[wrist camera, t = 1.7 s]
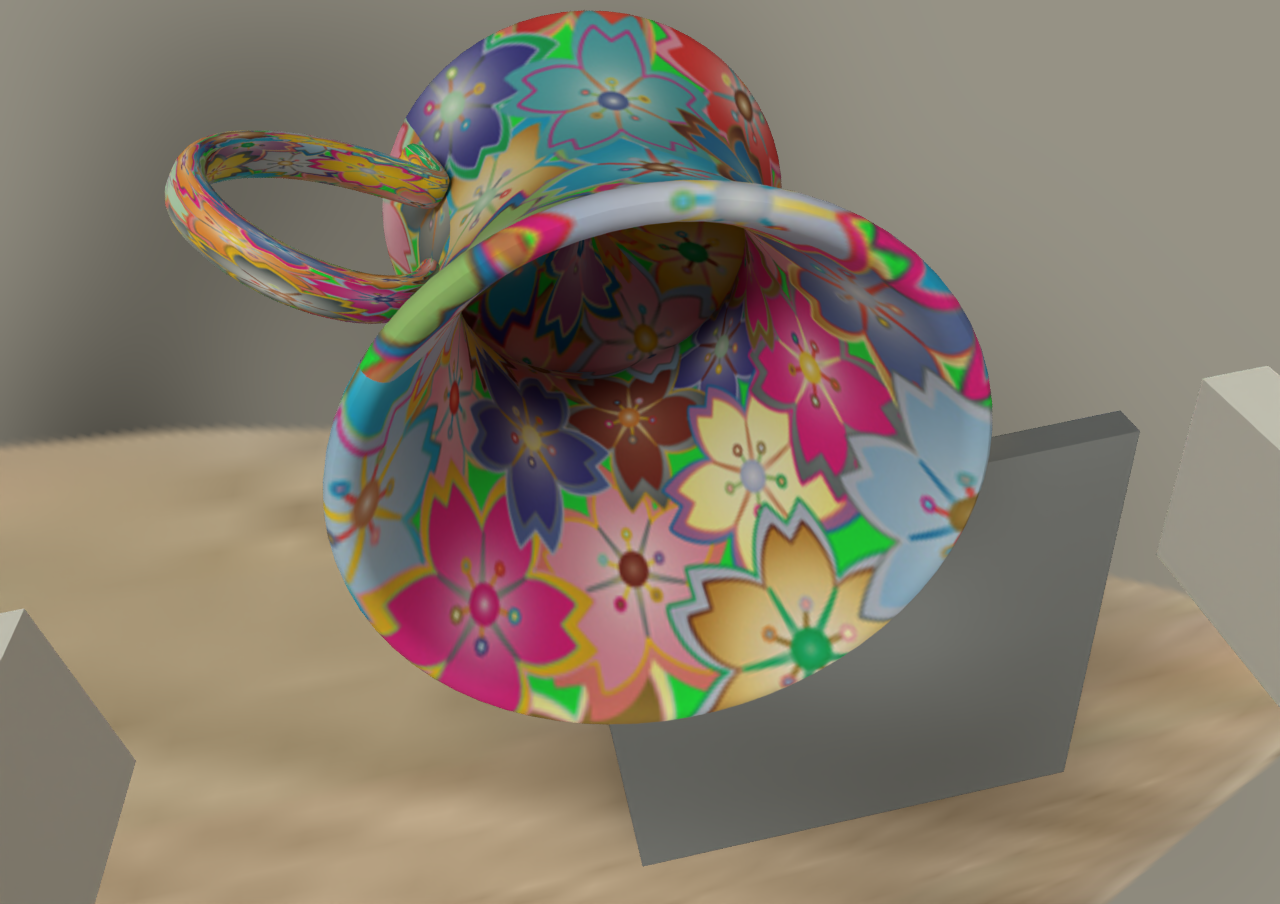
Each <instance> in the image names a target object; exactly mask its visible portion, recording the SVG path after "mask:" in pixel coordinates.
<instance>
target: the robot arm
mask: <svg viewBox="0 0 1280 904" xmlns="http://www.w3.org/2000/svg"><path fill="white" fill-rule="evenodd" d="M1156 555H1157V556H1158V557H1159V559H1160V560H1161V561H1162V563H1163V564H1164V565H1165V566H1166V567H1167V569H1168V570H1169V571H1170V572H1171V574H1172V575H1173V576H1174V577H1175V579H1176V580H1177V581H1178V582H1179V584H1180V585H1181V586H1182V587H1183V589H1184V590H1185V591H1186V592H1187V593H1188V595H1189V596H1190V597H1191V598H1192V600H1193V601H1194V602H1195V603H1196V605H1197V606H1198V607H1199V608H1200V610H1201V611H1202V612H1203V613H1204V615H1205V616H1206V617H1207V618H1208V619H1209V621H1210V622H1211V623H1212V624H1213V626H1214V627H1215V628H1216V629H1217V631H1218V632H1219V633H1220V634H1221V636H1222V637H1223V638H1224V639H1225V641H1226V642H1227V643H1228V644H1229V645H1230V647H1231V648H1232V649H1233V650H1234V652H1235V653H1236V654H1237V655H1238V657H1239V658H1240V659H1241V660H1242V662H1243V663H1244V664H1245V665H1246V667H1247V668H1248V669H1249V670H1250V671H1251V673H1252V674H1253V675H1254V676H1255V678H1256V679H1257V680H1258V681H1259V683H1260V684H1261V685H1262V686H1263V688H1264V689H1265V690H1266V691H1267V693H1268V694H1269V695H1270V696H1271V697H1272V699H1273V700H1274V701H1275V702H1276V704H1277V705H1278V706H1279V707H1280V376H1279V375H1278V374H1277V373H1276V372H1275V371H1273V370H1272V369H1271V368H1270V367H1268V366H1265V367H1260V368H1255V369H1249V370H1244V371H1239V372H1234V373H1229V374H1224V375H1218V376H1214V377H1208V378H1203V379H1202V383H1201V386H1200V390H1199V394H1198V398H1197V401H1196V405H1195V409H1194V413H1193V417H1192V420H1191V424H1190V428H1189V432H1188V436H1187V439H1186V443H1185V447H1184V451H1183V455H1182V458H1181V462H1180V466H1179V470H1178V474H1177V477H1176V481H1175V485H1174V489H1173V493H1172V496H1171V500H1170V504H1169V508H1168V511H1167V515H1166V519H1165V523H1164V527H1163V530H1162V534H1161V538H1160V542H1159V546H1158V550H1157V553H1156ZM135 762H136V760H135V759H134V758H133V756H132V755H131V754H130V752H129V751H128V749H127V748H126V747H125V745H124V744H123V743H122V741H121V740H120V739H119V737H118V736H117V734H116V733H115V732H114V730H113V729H112V728H111V726H110V725H109V724H108V722H107V721H106V719H105V718H104V717H103V715H102V714H101V713H100V711H99V710H98V709H97V707H96V706H95V704H94V703H93V702H92V700H91V699H90V698H89V696H88V695H87V694H86V692H85V691H84V689H83V688H82V687H81V685H80V684H79V683H78V681H77V680H76V679H75V677H74V676H73V674H72V673H71V672H70V670H69V669H68V668H67V666H66V665H65V664H64V662H63V661H62V659H61V658H60V657H59V655H58V654H57V653H56V651H55V650H54V649H53V647H52V646H51V644H50V643H49V642H48V640H47V639H46V638H45V636H44V635H43V634H42V632H41V631H40V629H39V628H38V627H37V625H36V624H35V623H34V621H33V620H32V619H31V617H30V616H29V614H28V613H27V612H26V610H25V609H20V610H15V611H10V612H5V613H0V904H95V900H96V897H97V893H98V890H99V887H100V883H101V880H102V876H103V873H104V869H105V866H106V862H107V859H108V855H109V852H110V849H111V845H112V842H113V838H114V835H115V831H116V828H117V824H118V821H119V817H120V814H121V811H122V807H123V804H124V800H125V797H126V793H127V790H128V786H129V783H130V779H131V776H132V773H133V769H134V766H135Z"/></svg>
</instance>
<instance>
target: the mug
mask: <svg viewBox="0 0 1280 904" xmlns="http://www.w3.org/2000/svg"><path fill="white" fill-rule="evenodd" d="M263 177H264V178H266V177H267V178H288V179H298V180H306V181H312V182H319V183H324V184H329V185H334V186H339V187H344V188H348V189H352V190H356V191H360V192H364V193H367V194H371V195H374V196H378V197H381V198H383V223H384V234H385V238H386V244H387V249H388V253H389V256H390V259H391V262H392V266H393V269H394V271H395V273H396V275H395V276H394V275H375V274H368V273H362V272H358V271H354V270H350V269H346V268H343V267H340V266H336V265H333V264H330V263H327V262H325V261H322V260H320V259H317V258H315V257H312V256H310V255H308V254H305V253H303V252H301V251H298V250H297V249H295V248H293V247H291V246H289V245H287V244H285V243H283V242H281V241H279V240H277V239H276V238H274V237H273V236H271V235H269V234H267V233H266V232H264V231H263V230H261V229H259V228H258V227H256V226H255V225H253V224H252V223H251V222H249V221H248V220H247V219H245V218H244V217H242V216H241V215H240V214H239V213H237V212H236V211H235V210H234V209H233V208H231V207H230V206H229V205H228V204H227V203H226V202H225V201H224V200H223V199H222V198H221V197H220V196H219V195H218V194H217V193H216V192H215V190H214V189H213V188H212V186H211V185H210V184H213V183H217V182H221V181H226V180H232V179H241V178H263ZM165 205H166V208H167V210H168V213H169V216H170V218H171V221H172V222H173V224H174V225H175V227H176V228H177V230H178V231H179V232H180V234H181V235H182V236H183V237H184V238H185V239H186V240H187V241H188V242H189V243H190V245H191V246H193V247H194V248H195V249H196V250H197V251H198V252H199V253H200V254H201V255H203V256H204V257H205V258H206V259H207V260H209V261H210V262H211V263H213V264H214V265H215V266H216V267H218V268H219V269H220V270H222V271H223V272H225V273H226V274H228V275H229V276H231V277H233V278H234V279H236V280H237V281H239V282H240V283H242V284H244V285H246V286H248V287H250V288H251V289H253V290H255V291H257V292H258V293H261V294H263V295H265V296H267V297H269V298H271V299H273V300H275V301H277V302H280V303H283V304H285V305H287V306H290V307H293V308H295V309H298V310H301V311H304V312H308V313H310V314H314V315H318V316H321V317H326V318H330V319H335V320H340V321H345V322H353V323H365V324H367V323H368V324H377V323H387V322H388V323H387V324H386V325H385V326H384V328H383V329H382V330H381V331H380V332H379V334H378V335H377V337H376V338H375V340H374V341H373V343H372V344H371V345H370V347H369V348H368V350H367V351H366V353H365V354H364V356H363V357H362V359H361V360H360V362H359V364H358V366H357V368H356V370H355V372H354V373H353V375H352V377H351V379H350V381H349V383H348V385H347V387H346V389H345V391H344V394H343V396H342V399H341V402H340V404H339V407H338V410H337V412H336V415H335V417H334V421H333V425H332V429H331V433H330V437H329V441H328V445H327V451H326V460H325V469H324V478H323V501H324V515H325V521H326V527H327V534H328V538H329V542H330V545H331V548H332V552H333V555H334V559H335V562H336V564H337V566H338V568H339V571H340V573H341V575H342V578H343V580H344V582H345V584H346V586H347V588H348V590H349V592H350V593H351V595H352V597H353V598H354V600H355V602H356V603H357V605H358V607H359V609H360V610H361V611H362V613H363V614H364V615H365V617H366V618H367V619H368V621H369V622H370V623H371V624H372V626H373V627H374V628H375V630H376V631H377V632H378V633H379V634H380V635H381V636H382V637H383V638H384V639H385V640H386V641H387V642H388V643H389V644H390V645H391V646H392V647H393V648H394V649H395V650H396V651H398V652H399V653H400V654H401V655H402V656H404V657H405V658H406V659H407V660H408V661H410V662H411V663H412V664H413V665H415V666H416V667H418V668H419V669H421V670H422V671H424V672H425V673H427V674H428V675H430V676H431V677H433V678H434V679H436V680H438V681H440V682H441V683H443V684H445V685H447V686H449V687H451V688H452V689H454V690H456V691H458V692H461V693H463V694H465V695H467V696H470V697H472V698H474V699H477V700H479V701H482V702H485V703H488V704H490V705H493V706H496V707H499V708H502V709H505V710H509V711H513V712H517V713H521V714H525V715H529V716H534V717H539V718H545V719H551V720H556V721H565V722H574V723H584V724H639V723H650V722H661V721H668V720H675V719H681V718H688V717H693V716H697V715H702V714H706V713H711V712H715V711H719V710H722V709H726V708H729V707H733V706H737V705H740V704H743V703H746V702H749V701H752V700H755V699H757V698H760V697H763V696H766V695H768V694H771V693H773V692H775V691H778V690H780V689H783V688H785V687H787V686H790V685H792V684H794V683H796V682H798V681H800V680H802V679H804V678H806V677H808V676H810V675H812V674H814V673H816V672H818V671H819V670H821V669H823V668H825V667H826V666H828V665H830V664H831V663H833V662H835V661H837V660H838V659H840V658H841V657H843V656H844V655H846V654H847V653H849V652H850V651H852V650H853V649H855V648H856V647H858V646H859V645H861V644H862V643H863V642H865V641H866V640H867V639H868V638H870V637H871V636H872V635H874V634H875V633H876V632H877V631H879V630H880V629H881V628H882V627H884V626H885V625H886V624H887V623H888V622H889V621H890V620H891V619H893V618H894V617H895V616H896V615H897V614H898V613H899V612H900V611H901V610H903V608H904V607H905V606H906V605H907V604H908V603H909V602H910V601H911V600H912V599H913V598H914V597H915V596H916V595H917V594H918V593H919V592H920V591H921V590H922V589H923V587H924V586H925V585H926V584H927V582H928V581H929V580H930V579H931V578H932V576H933V575H934V574H935V573H936V572H937V570H938V569H939V567H940V566H941V565H942V563H943V562H944V560H945V559H946V557H947V556H948V555H949V553H950V552H951V550H952V549H953V547H954V545H955V544H956V542H957V540H958V538H959V537H960V535H961V533H962V531H963V530H964V528H965V526H966V524H967V522H968V519H969V517H970V515H971V513H972V511H973V508H974V506H975V504H976V501H977V498H978V495H979V492H980V489H981V486H982V484H983V481H984V477H985V472H986V468H987V464H988V459H989V455H990V446H991V437H992V399H991V391H990V384H989V377H988V372H987V368H986V364H985V360H984V357H983V353H982V349H981V347H980V344H979V342H978V340H977V337H976V335H975V332H974V330H973V328H972V325H971V323H970V321H969V320H968V318H967V316H966V314H965V313H964V311H963V309H962V308H961V306H960V304H959V302H958V301H957V299H956V298H955V297H954V295H953V294H952V293H951V291H950V290H949V289H948V288H947V286H946V285H945V284H944V283H943V281H942V280H941V279H940V278H939V276H938V275H937V274H936V273H935V272H934V271H933V270H932V269H931V268H930V267H929V266H928V265H927V264H926V263H925V262H924V261H923V260H922V259H921V258H920V257H919V256H918V255H917V254H916V253H915V252H914V251H912V250H911V249H910V248H909V247H907V246H906V245H905V244H904V243H902V242H901V241H899V240H898V239H897V238H896V237H894V236H893V235H892V234H890V233H889V232H887V231H886V230H884V229H882V228H880V227H879V226H877V225H875V224H874V223H872V222H870V221H869V220H867V219H865V218H864V217H862V216H860V215H857V214H855V213H853V212H851V211H848V210H846V209H844V208H841V207H839V206H837V205H835V204H832V203H830V202H827V201H824V200H820V199H817V198H814V197H811V196H808V195H805V194H802V193H799V192H795V191H791V190H786V189H781V173H780V167H779V160H778V155H777V151H776V147H775V143H774V140H773V137H772V134H771V131H770V129H769V126H768V123H767V121H766V119H765V117H764V115H763V113H762V111H761V109H760V107H759V105H758V103H757V102H756V100H755V99H754V97H753V96H752V94H751V93H750V91H749V90H748V88H747V87H746V86H745V84H744V83H743V82H742V81H741V80H740V78H739V77H738V76H737V75H736V73H734V71H733V70H732V69H731V68H730V67H729V66H728V65H727V64H726V63H724V61H722V60H721V59H720V58H719V57H718V56H716V55H715V54H714V53H713V52H711V51H710V50H709V49H708V48H706V47H705V46H703V45H702V44H700V43H699V42H697V41H695V40H694V39H692V38H691V37H689V36H687V35H685V34H683V33H681V32H679V31H677V30H675V29H673V28H671V27H669V26H666V25H664V24H661V23H658V22H655V21H653V20H649V19H645V18H642V17H638V16H634V15H630V14H623V13H616V12H608V11H573V12H561V13H555V14H550V15H544V16H540V17H536V18H533V19H529V20H526V21H522V22H519V23H517V24H514V25H512V26H509V27H507V28H504V29H502V30H500V31H498V32H496V33H494V34H492V35H490V36H488V37H486V38H485V39H483V40H481V41H479V42H478V43H476V44H475V45H473V46H472V47H470V48H469V49H467V50H466V51H464V52H463V53H462V54H460V55H459V56H458V57H457V58H456V59H454V60H453V61H452V62H451V63H450V64H449V65H447V66H446V67H445V68H444V69H443V70H442V71H441V72H440V73H439V74H438V75H437V76H436V77H435V78H434V79H433V81H431V82H430V84H429V85H428V86H427V88H426V89H425V90H424V91H423V93H422V94H421V95H420V96H419V98H418V99H417V100H416V102H415V104H414V105H413V107H412V109H411V110H410V112H409V113H408V115H407V117H406V118H405V120H404V123H403V125H402V127H401V129H400V131H399V133H398V135H397V137H396V140H395V143H394V146H393V149H392V151H391V155H387V154H384V153H380V152H378V151H374V150H371V149H368V148H364V147H360V146H357V145H353V144H349V143H345V142H340V141H337V140H332V139H327V138H322V137H317V136H311V135H303V134H298V133H288V132H278V131H258V130H255V131H231V132H224V133H218V134H214V135H211V136H207V137H205V138H202V139H199V140H197V141H196V142H194V143H192V144H190V145H189V146H188V147H187V148H186V149H185V150H184V151H183V152H182V153H181V154H180V155H179V157H178V158H177V160H176V161H175V163H174V165H173V167H172V170H171V172H170V175H169V178H168V181H167V184H166V187H165Z"/></svg>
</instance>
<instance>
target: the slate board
mask: <svg viewBox="0 0 1280 904" xmlns="http://www.w3.org/2000/svg"><path fill="white" fill-rule="evenodd" d="M1139 433H1140V431H1139V430H1138V429H1137V428H1136V426H1135V425H1134V424H1133V423H1132V422H1131V421H1130V420H1129V419H1128V418H1127V417H1126V416H1125V415H1124V414H1123V413H1122V412H1121V411H1116V412H1111V413H1106V414H1101V415H1096V416H1092V417H1087V418H1082V419H1078V420H1072V421H1067V422H1063V423H1058V424H1053V425H1048V426H1043V427H1038V428H1033V429H1029V430H1024V431H1019V432H1014V433H1009V434H1004V435H1000V436H995V437H991V446H990V455H989V459H988V464H987V468H986V472H985V477H984V481H983V484H982V486H981V489H980V492H979V495H978V498H977V501H976V504H975V506H974V508H973V511H972V513H971V515H970V517H969V519H968V522H967V524H966V526H965V528H964V530H963V531H962V533H961V535H960V537H959V538H958V540H957V542H956V544H955V545H954V547H953V549H952V550H951V552H950V553H949V555H948V556H947V557H946V559H945V560H944V562H943V563H942V565H941V566H940V567H939V569H938V570H937V572H936V573H935V574H934V575H933V576H932V578H931V579H930V580H929V581H928V582H927V584H926V585H925V586H924V587H923V589H922V590H921V591H920V592H919V593H918V594H917V595H916V596H915V597H914V598H913V599H912V600H911V601H910V602H909V603H908V604H907V605H906V606H905V607H904V608H903V610H901V611H900V612H899V613H898V614H897V615H896V616H895V617H894V618H893V619H891V620H890V621H889V622H888V623H887V624H886V625H885V626H884V627H882V628H881V629H880V630H879V631H877V632H876V633H875V634H874V635H872V636H871V637H870V638H868V639H867V640H866V641H865V642H863V643H862V644H861V645H859V646H858V647H856V648H855V649H853V650H852V651H850V652H849V653H847V654H846V655H844V656H843V657H841V658H840V659H838V660H837V661H835V662H833V663H831V664H830V665H828V666H826V667H825V668H823V669H821V670H819V671H818V672H816V673H814V674H812V675H810V676H808V677H806V678H804V679H802V680H800V681H798V682H796V683H794V684H792V685H790V686H787V687H785V688H783V689H780V690H778V691H775V692H773V693H771V694H768V695H766V696H763V697H760V698H757V699H755V700H752V701H749V702H746V703H743V704H740V705H737V706H733V707H729V708H726V709H722V710H719V711H715V712H711V713H706V714H702V715H697V716H693V717H688V718H681V719H675V720H668V721H661V722H650V723H639V724H609V726H610V730H611V734H612V738H613V743H614V747H615V751H616V755H617V760H618V764H619V768H620V772H621V777H622V781H623V785H624V789H625V793H626V798H627V802H628V806H629V810H630V815H631V819H632V823H633V827H634V832H635V836H636V840H637V844H638V849H639V853H640V857H641V861H642V866H647V865H652V864H656V863H660V862H665V861H669V860H674V859H678V858H683V857H687V856H692V855H696V854H700V853H705V852H709V851H714V850H718V849H723V848H727V847H731V846H736V845H740V844H745V843H749V842H754V841H758V840H763V839H767V838H771V837H776V836H780V835H785V834H789V833H794V832H798V831H803V830H807V829H811V828H816V827H820V826H825V825H829V824H834V823H838V822H842V821H847V820H851V819H856V818H860V817H865V816H869V815H874V814H878V813H882V812H887V811H891V810H896V809H900V808H905V807H909V806H914V805H918V804H922V803H927V802H931V801H936V800H940V799H945V798H949V797H953V796H958V795H962V794H967V793H971V792H976V791H980V790H985V789H989V788H993V787H998V786H1002V785H1007V784H1011V783H1016V782H1020V781H1024V780H1029V779H1033V778H1038V777H1042V776H1047V775H1051V774H1056V773H1060V772H1064V768H1065V764H1066V759H1067V755H1068V750H1069V746H1070V741H1071V737H1072V732H1073V728H1074V723H1075V719H1076V715H1077V710H1078V706H1079V701H1080V697H1081V692H1082V688H1083V683H1084V679H1085V674H1086V670H1087V665H1088V661H1089V656H1090V652H1091V647H1092V643H1093V639H1094V634H1095V630H1096V625H1097V621H1098V616H1099V612H1100V607H1101V603H1102V598H1103V594H1104V589H1105V585H1106V580H1107V576H1108V571H1109V567H1110V562H1111V558H1112V554H1113V549H1114V545H1115V540H1116V536H1117V531H1118V526H1119V522H1120V518H1121V513H1122V509H1123V504H1124V500H1125V495H1126V491H1127V486H1128V482H1129V477H1130V473H1131V468H1132V464H1133V460H1134V455H1135V451H1136V446H1137V442H1138V437H1139Z"/></svg>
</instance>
